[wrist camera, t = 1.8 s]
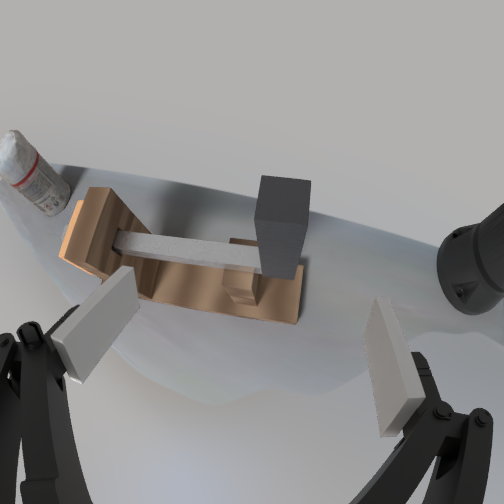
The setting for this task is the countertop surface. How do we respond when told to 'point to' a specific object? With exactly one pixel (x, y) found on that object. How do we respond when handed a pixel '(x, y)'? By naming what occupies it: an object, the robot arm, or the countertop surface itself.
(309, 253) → the countertop surface
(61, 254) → the collar
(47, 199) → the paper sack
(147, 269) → the rail base
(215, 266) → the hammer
